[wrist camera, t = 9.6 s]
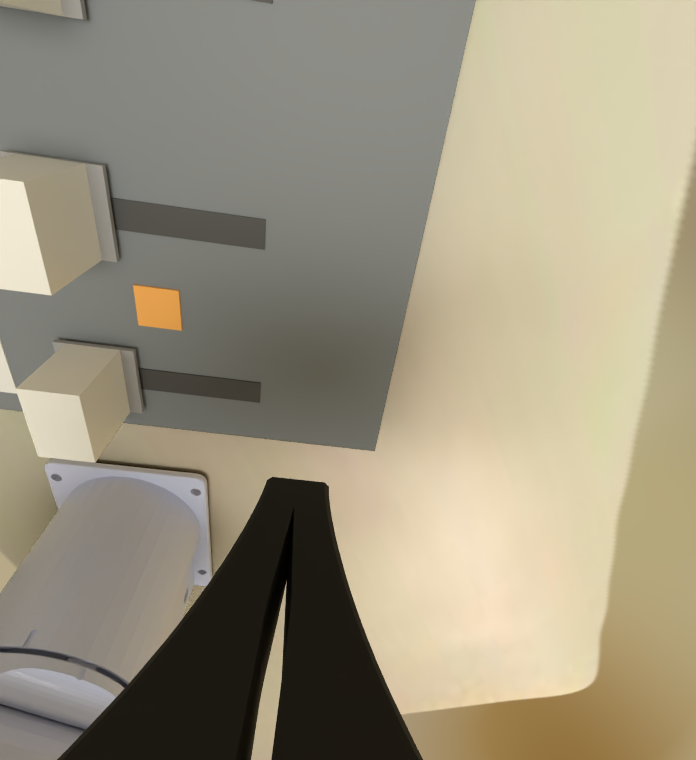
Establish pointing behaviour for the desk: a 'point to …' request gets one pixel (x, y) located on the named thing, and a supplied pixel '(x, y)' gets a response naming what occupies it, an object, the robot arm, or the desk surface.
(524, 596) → the desk surface
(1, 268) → the block
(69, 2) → the block
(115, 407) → the breaker handle
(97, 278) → the panel
